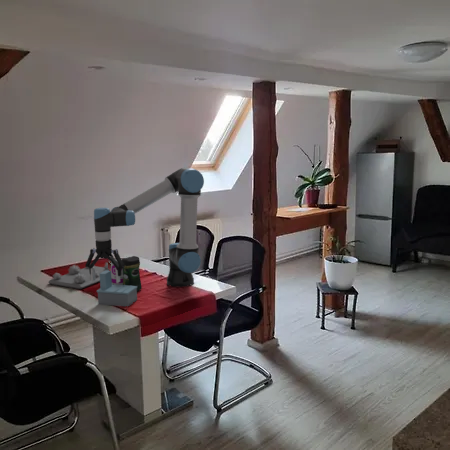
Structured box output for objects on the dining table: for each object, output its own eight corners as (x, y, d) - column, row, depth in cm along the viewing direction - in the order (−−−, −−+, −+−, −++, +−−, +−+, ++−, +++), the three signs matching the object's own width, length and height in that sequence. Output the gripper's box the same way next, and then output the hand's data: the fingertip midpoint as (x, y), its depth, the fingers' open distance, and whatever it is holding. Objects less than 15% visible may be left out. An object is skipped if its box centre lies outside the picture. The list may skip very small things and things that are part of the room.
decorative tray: (91, 269, 285) (90, 254, 284) (123, 274, 274) (122, 258, 272) (47, 285, 255) (45, 268, 253) (81, 291, 243) (80, 273, 241)
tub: (137, 299, 227) (136, 288, 226) (128, 306, 218) (127, 294, 217) (108, 297, 231) (107, 286, 230) (98, 304, 222) (97, 292, 221)
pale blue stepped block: (137, 287, 226) (136, 270, 225) (127, 294, 216) (126, 276, 215) (107, 285, 230) (106, 269, 229) (96, 292, 220) (95, 274, 219)
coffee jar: (134, 287, 248) (132, 254, 245) (143, 289, 243) (142, 256, 240) (120, 291, 241) (118, 257, 237) (129, 294, 236) (127, 259, 232)
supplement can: (123, 289, 244) (121, 262, 242) (109, 288, 246) (107, 261, 243) (129, 284, 252) (128, 258, 249) (115, 284, 254) (114, 258, 251)
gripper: (130, 239, 221) (132, 280, 225) (84, 237, 227) (87, 277, 231) (123, 242, 214) (125, 285, 217) (76, 240, 220) (79, 281, 224)
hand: (105, 281), depth 224 cm, fingers open, 13 cm apart
